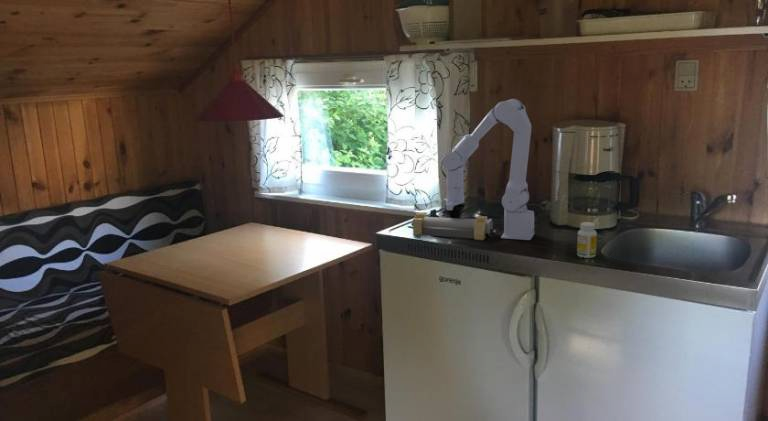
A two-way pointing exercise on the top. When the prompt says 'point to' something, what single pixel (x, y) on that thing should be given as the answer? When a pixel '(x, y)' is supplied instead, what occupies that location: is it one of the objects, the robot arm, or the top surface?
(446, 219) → the tube
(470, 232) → the dark gray bar
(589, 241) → the supplement bottle
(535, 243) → the top surface
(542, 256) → the top surface
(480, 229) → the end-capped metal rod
